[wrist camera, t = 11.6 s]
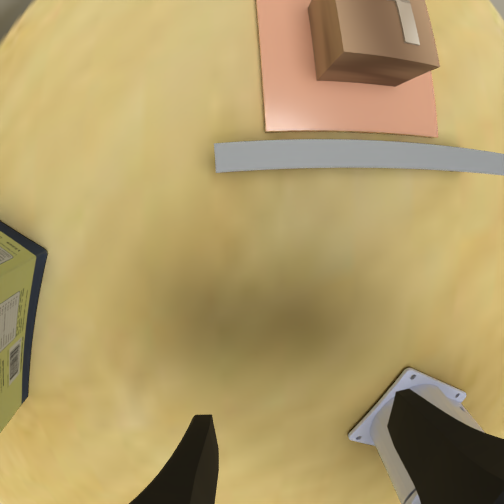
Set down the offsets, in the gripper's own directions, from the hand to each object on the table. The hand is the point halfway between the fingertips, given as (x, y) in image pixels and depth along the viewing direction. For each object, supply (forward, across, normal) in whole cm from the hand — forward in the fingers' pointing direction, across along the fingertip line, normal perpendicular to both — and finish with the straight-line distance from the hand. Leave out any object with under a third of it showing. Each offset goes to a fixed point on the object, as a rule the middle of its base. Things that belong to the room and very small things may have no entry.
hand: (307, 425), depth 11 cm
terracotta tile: (+9, -5, -17) cm, 20 cm away
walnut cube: (+9, -5, -17) cm, 20 cm away
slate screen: (+9, -5, -10) cm, 15 cm away
